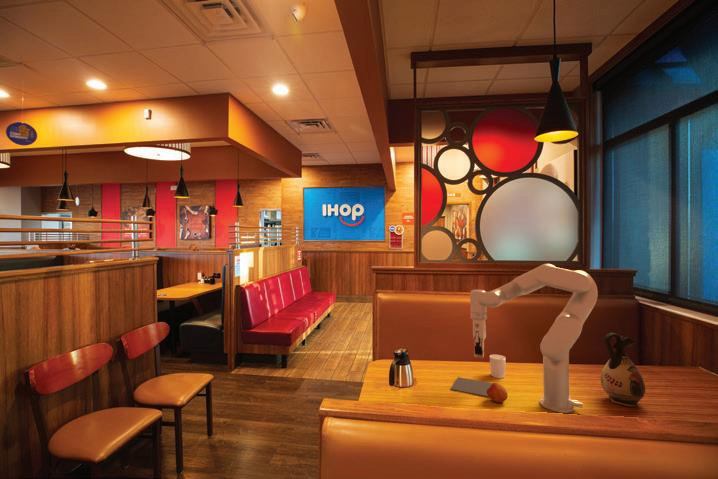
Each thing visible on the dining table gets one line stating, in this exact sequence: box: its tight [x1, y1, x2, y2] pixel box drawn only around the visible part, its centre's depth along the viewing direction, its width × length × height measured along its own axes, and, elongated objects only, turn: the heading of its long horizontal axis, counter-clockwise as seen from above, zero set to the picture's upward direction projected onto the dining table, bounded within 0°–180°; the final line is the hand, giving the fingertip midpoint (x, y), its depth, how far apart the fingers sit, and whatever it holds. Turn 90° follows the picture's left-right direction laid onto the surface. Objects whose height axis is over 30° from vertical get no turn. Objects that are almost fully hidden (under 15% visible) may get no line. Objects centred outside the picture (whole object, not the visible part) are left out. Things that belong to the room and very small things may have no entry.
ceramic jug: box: [600, 332, 646, 408], centre depth 147 cm, size 17×15×30 cm
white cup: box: [489, 354, 507, 379], centre depth 176 cm, size 8×8×10 cm
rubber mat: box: [450, 376, 494, 399], centre depth 162 cm, size 18×16×1 cm
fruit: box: [487, 382, 508, 404], centre depth 148 cm, size 8×8×8 cm
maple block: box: [473, 339, 485, 359], centre depth 162 cm, size 4×4×9 cm
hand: (479, 352), depth 162 cm, fingers closed on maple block, 4 cm apart
